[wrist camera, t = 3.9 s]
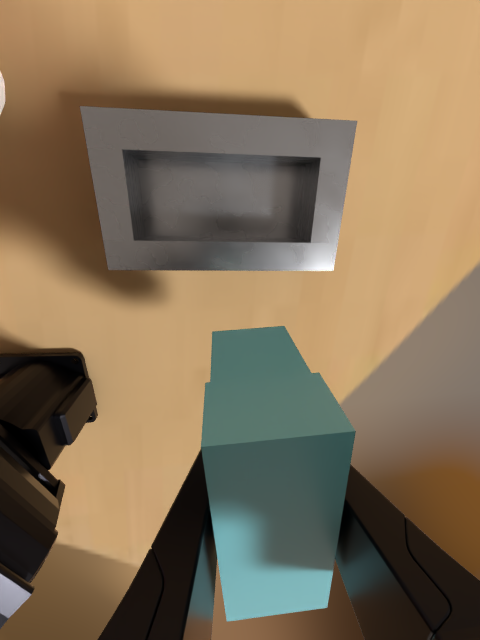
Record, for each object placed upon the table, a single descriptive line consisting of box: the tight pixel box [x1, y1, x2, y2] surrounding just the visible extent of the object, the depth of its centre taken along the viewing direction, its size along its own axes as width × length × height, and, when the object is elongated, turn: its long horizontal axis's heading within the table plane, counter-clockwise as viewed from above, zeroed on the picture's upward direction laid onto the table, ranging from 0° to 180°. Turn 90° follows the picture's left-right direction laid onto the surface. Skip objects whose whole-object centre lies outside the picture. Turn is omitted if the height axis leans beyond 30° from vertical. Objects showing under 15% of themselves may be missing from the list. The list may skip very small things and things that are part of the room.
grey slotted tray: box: [80, 106, 357, 271], centre depth 15 cm, size 13×7×4 cm, turn 89°
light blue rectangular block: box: [201, 326, 356, 621], centre depth 9 cm, size 7×3×6 cm, turn 3°
